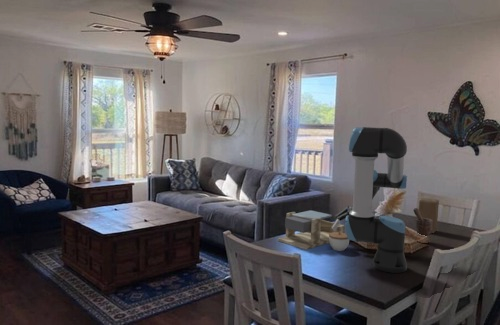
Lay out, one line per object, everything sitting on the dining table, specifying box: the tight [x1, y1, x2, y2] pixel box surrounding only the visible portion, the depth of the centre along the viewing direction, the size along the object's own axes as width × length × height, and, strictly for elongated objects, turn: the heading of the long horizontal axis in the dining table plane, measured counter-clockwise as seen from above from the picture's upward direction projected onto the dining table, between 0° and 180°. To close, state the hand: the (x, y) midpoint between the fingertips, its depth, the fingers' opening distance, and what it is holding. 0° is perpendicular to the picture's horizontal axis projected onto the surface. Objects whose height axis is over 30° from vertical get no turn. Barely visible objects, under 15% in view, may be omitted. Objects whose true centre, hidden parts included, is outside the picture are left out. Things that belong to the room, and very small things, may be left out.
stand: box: [277, 211, 346, 251], centre depth 232 cm, size 35×20×15 cm, turn 133°
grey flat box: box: [284, 209, 333, 233], centre depth 229 cm, size 24×16×7 cm, turn 133°
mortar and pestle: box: [412, 207, 433, 242], centre depth 231 cm, size 12×9×20 cm
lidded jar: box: [329, 232, 350, 252], centre depth 216 cm, size 11×11×9 cm
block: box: [417, 198, 440, 234], centre depth 257 cm, size 10×10×20 cm
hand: (342, 232), depth 218 cm, fingers open, 13 cm apart
